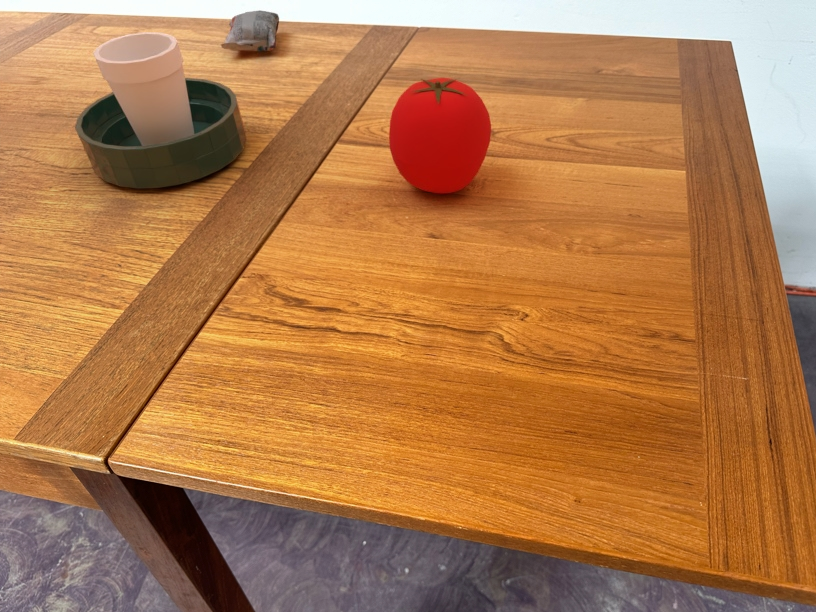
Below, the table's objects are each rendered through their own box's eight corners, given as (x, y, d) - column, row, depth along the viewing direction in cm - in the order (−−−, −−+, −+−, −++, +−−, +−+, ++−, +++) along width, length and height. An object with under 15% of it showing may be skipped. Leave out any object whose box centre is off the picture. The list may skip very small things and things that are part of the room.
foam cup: (215, 154, 86) (185, 51, 76) (142, 174, 82) (101, 70, 73) (197, 124, 92) (166, 26, 82) (127, 142, 88) (88, 42, 79)
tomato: (425, 221, 75) (418, 115, 66) (375, 176, 82) (363, 76, 73) (512, 186, 80) (517, 83, 71) (458, 147, 87) (456, 49, 78)
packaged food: (225, 61, 109) (217, 30, 105) (233, 34, 117) (226, 5, 114) (278, 58, 110) (273, 27, 106) (282, 32, 118) (277, 2, 114)
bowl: (88, 205, 79) (66, 160, 75) (101, 131, 92) (83, 89, 88) (252, 178, 83) (241, 133, 78) (243, 110, 96) (232, 69, 92)
